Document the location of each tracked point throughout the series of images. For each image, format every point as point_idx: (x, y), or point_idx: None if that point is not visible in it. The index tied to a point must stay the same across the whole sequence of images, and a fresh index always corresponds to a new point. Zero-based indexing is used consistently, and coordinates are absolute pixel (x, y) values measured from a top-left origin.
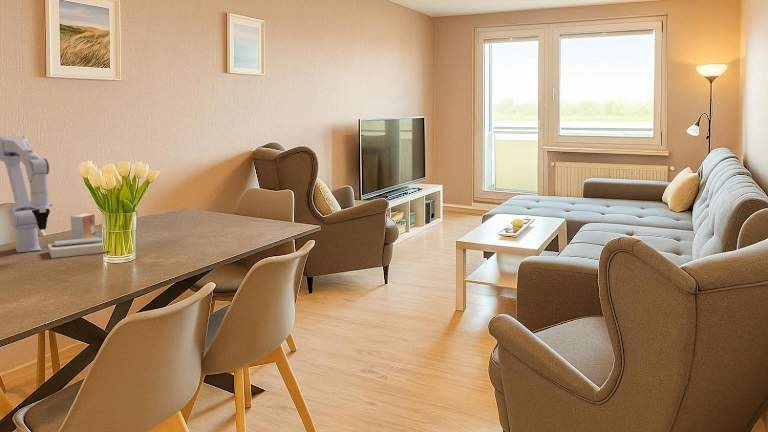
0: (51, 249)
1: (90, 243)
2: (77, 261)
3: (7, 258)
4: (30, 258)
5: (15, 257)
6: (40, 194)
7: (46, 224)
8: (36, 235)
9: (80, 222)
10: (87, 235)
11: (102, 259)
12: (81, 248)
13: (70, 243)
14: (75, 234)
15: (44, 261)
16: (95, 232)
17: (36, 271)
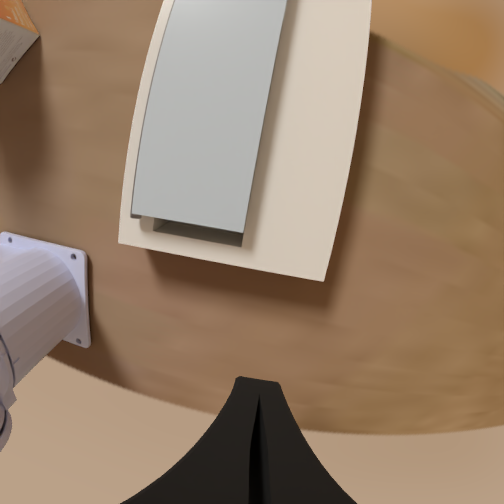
0: (305, 273)
1: None
2: (470, 189)
3: (178, 403)
4: (242, 345)
5: (176, 380)
6: None
7: (289, 413)
8: (18, 287)
9: None
10: (17, 14)
11: (493, 90)
12: (358, 92)
13: (262, 124)
14: None
15: (363, 313)
16: None
17: (480, 365)
